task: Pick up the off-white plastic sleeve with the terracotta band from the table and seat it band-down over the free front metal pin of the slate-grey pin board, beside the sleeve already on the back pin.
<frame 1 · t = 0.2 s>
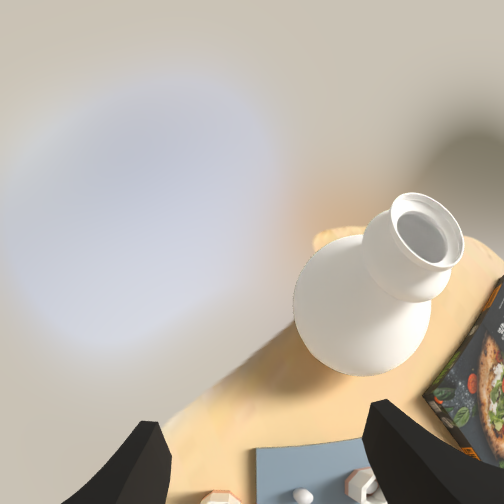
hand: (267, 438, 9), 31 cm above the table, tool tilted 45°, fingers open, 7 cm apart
decorative vase: (341, 327, 42), on the table
seated sleeve: (361, 483, 28), point 1 cm above the table, touching pin board
pin board: (327, 487, 29), on the table
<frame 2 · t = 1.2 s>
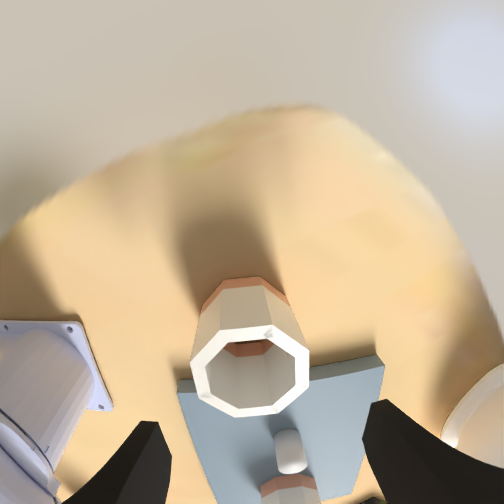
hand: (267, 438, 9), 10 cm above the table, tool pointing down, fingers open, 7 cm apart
decorative vase: (480, 405, 23), on the table
seated sleeve: (287, 487, 21), point 1 cm above the table, touching pin board
sleeve: (245, 316, 18), on the table
pin board: (284, 451, 21), on the table
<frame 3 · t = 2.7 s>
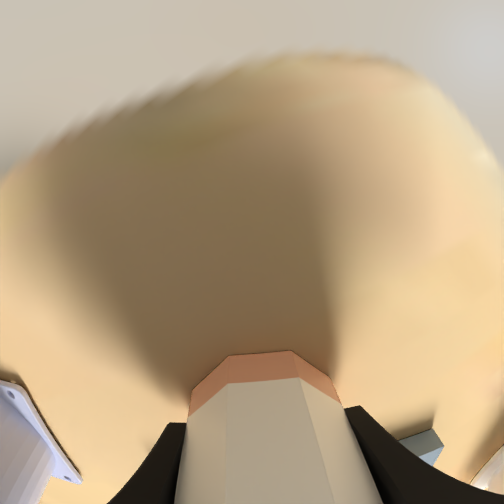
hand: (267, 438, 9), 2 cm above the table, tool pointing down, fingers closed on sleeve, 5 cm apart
sleeve: (263, 405, 10), on the table, touching gripper
when the fingers open (4 cm above the table, at t = 6.4 s): sleeve stays where it is, resting on pin board.
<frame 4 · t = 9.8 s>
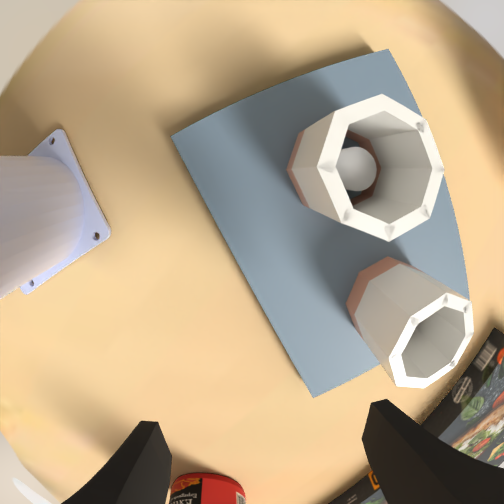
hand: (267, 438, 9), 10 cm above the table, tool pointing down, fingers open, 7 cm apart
pizza box: (457, 453, 28), on the table
seated sleeve: (384, 297, 17), point 1 cm above the table, touching pin board
sleeve: (335, 168, 15), point 1 cm above the table, touching pin board
pin board: (353, 229, 18), on the table
canned food: (208, 486, 24), on the table
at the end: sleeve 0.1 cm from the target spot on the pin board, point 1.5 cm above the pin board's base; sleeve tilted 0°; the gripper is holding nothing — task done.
